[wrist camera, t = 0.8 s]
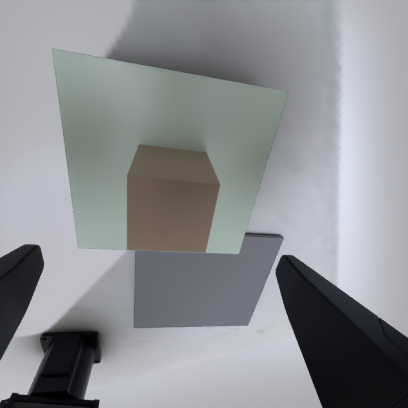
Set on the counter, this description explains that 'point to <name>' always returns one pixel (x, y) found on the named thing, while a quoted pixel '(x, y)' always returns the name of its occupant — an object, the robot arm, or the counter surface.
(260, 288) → the mat
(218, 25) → the counter surface
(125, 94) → the lid
